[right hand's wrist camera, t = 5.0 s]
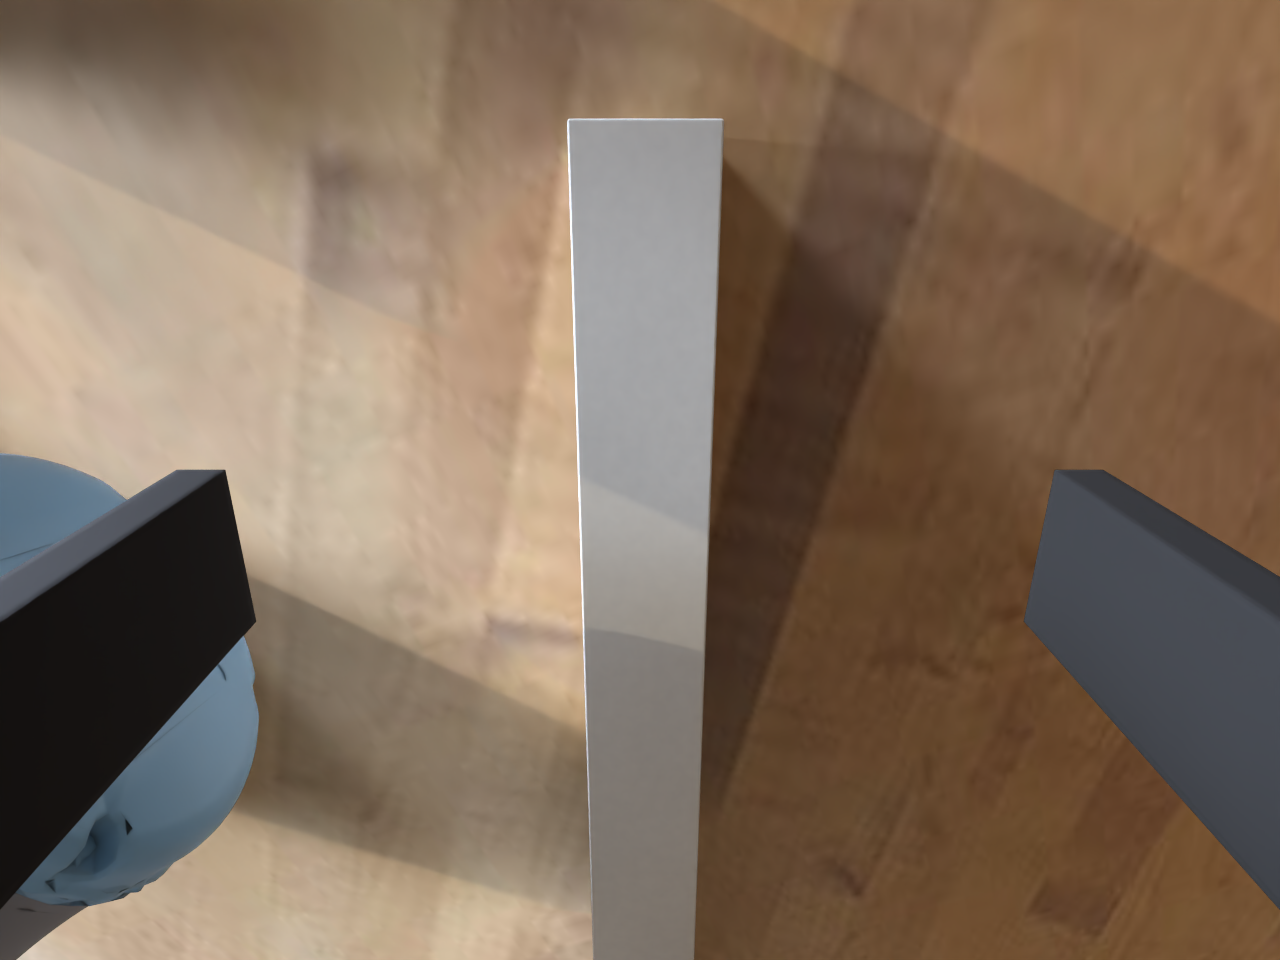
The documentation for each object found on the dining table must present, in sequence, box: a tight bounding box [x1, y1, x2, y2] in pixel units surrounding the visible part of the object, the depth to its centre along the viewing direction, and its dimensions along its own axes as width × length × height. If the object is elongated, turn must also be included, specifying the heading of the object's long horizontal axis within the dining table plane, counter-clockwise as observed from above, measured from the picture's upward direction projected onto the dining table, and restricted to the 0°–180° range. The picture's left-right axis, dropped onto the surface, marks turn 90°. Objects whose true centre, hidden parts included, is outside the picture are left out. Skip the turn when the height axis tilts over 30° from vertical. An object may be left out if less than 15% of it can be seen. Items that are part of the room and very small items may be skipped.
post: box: [567, 119, 724, 960], centre depth 37 cm, size 57×5×8 cm, turn 0°
